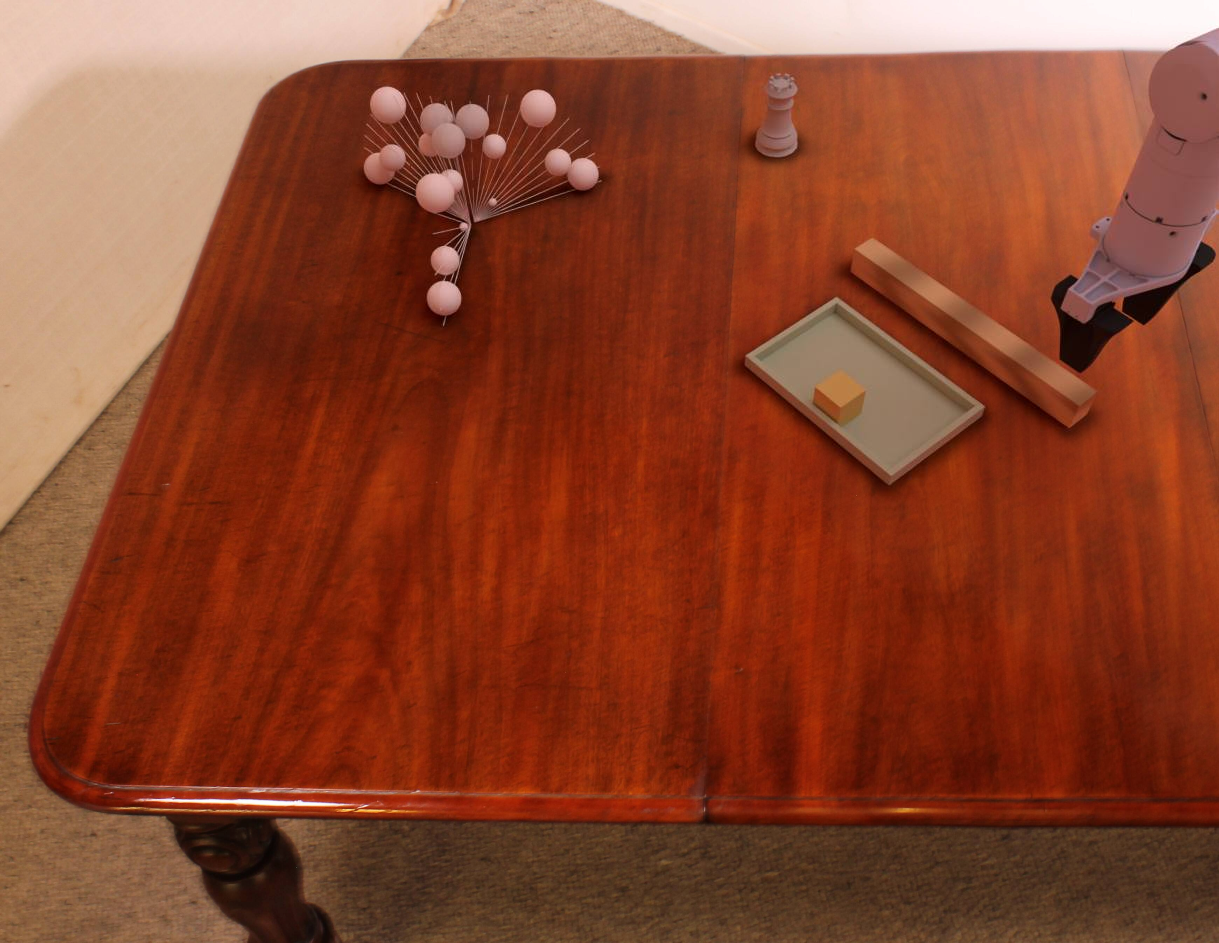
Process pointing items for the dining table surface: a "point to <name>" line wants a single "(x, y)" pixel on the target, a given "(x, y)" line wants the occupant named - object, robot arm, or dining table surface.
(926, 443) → the dish
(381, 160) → the decorative flower
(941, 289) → the stick
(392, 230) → the dining table surface
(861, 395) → the cheese cube
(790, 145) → the rook chess piece
